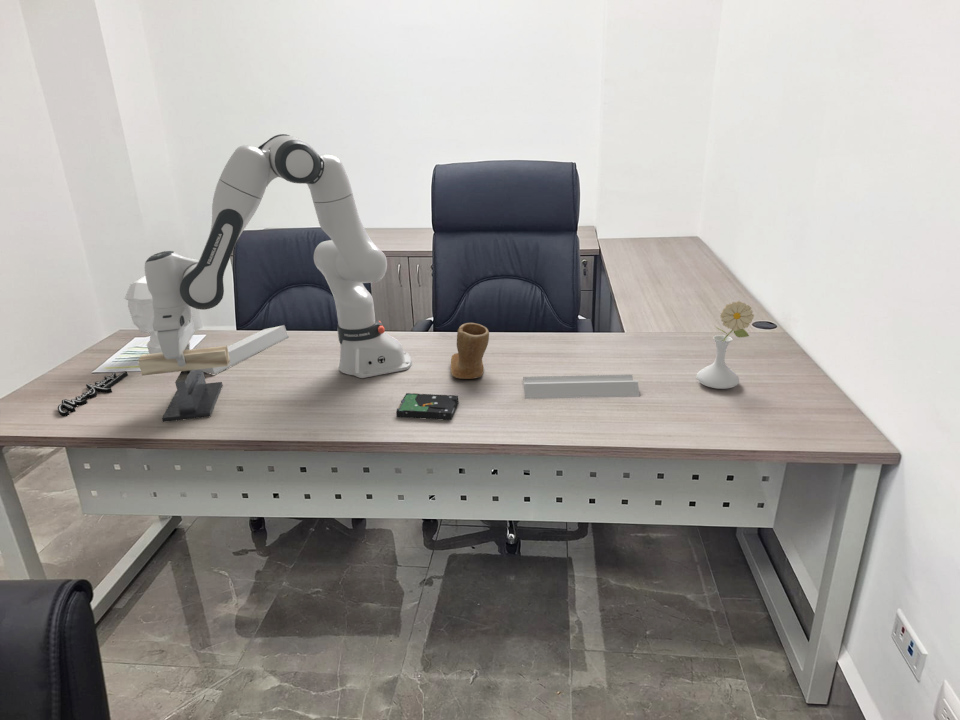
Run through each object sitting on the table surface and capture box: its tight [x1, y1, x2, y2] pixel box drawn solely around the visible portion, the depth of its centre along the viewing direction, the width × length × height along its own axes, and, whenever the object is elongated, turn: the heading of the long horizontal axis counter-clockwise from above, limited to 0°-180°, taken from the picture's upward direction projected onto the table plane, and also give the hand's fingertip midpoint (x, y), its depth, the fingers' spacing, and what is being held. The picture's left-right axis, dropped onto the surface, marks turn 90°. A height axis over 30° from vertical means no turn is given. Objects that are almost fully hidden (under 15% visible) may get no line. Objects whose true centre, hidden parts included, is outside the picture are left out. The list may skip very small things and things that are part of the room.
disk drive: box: [395, 392, 460, 421], centre depth 169 cm, size 10×3×15 cm
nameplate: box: [57, 370, 129, 418], centre depth 184 cm, size 28×2×10 cm
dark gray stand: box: [161, 369, 224, 423], centre depth 175 cm, size 12×20×10 cm, turn 12°
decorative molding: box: [200, 324, 289, 375], centre depth 210 cm, size 34×5×10 cm
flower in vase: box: [695, 300, 755, 390], centre depth 172 cm, size 13×11×25 cm
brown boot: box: [450, 322, 490, 380], centre depth 188 cm, size 15×12×15 cm
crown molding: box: [522, 374, 641, 400], centre depth 177 cm, size 31×12×4 cm, turn 89°
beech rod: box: [137, 345, 230, 376], centre depth 172 cm, size 4×22×4 cm, turn 102°
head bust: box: [124, 275, 162, 354], centre depth 205 cm, size 16×19×28 cm
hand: (184, 361), depth 172 cm, fingers closed on beech rod, 4 cm apart
